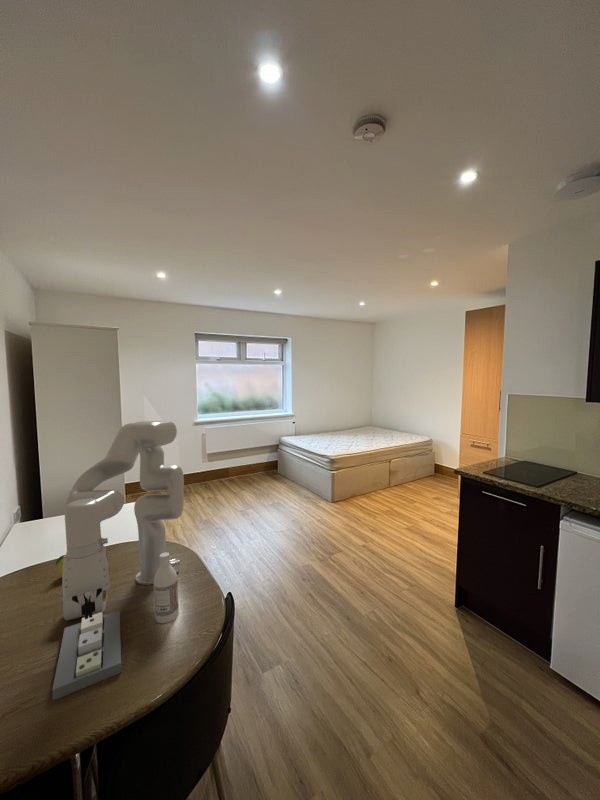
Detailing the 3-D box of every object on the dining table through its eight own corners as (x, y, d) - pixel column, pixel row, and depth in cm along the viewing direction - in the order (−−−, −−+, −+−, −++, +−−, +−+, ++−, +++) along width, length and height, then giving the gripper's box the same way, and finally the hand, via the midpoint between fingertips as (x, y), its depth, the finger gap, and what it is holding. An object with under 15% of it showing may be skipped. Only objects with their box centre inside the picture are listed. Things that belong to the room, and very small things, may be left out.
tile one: (103, 621, 98) (102, 611, 98) (102, 632, 94) (102, 621, 94) (82, 628, 96) (82, 617, 95) (81, 639, 91) (80, 628, 91)
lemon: (55, 583, 121) (54, 557, 121) (58, 575, 126) (57, 550, 126) (77, 577, 124) (76, 552, 124) (79, 570, 130) (77, 546, 129)
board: (119, 617, 102) (119, 610, 102) (121, 672, 82) (121, 662, 82) (65, 636, 95) (64, 627, 94) (52, 700, 75) (52, 690, 75)
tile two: (102, 637, 92) (101, 626, 92) (101, 649, 87) (101, 638, 87) (80, 645, 89) (79, 633, 89) (78, 658, 85) (78, 646, 84)
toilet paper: (64, 628, 98) (62, 596, 98) (73, 607, 107) (72, 578, 107) (102, 618, 102) (100, 587, 101) (108, 599, 111) (106, 571, 111)
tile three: (101, 660, 85) (101, 648, 85) (101, 674, 81) (100, 662, 81) (78, 669, 83) (77, 657, 82) (76, 684, 78) (75, 672, 78)
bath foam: (179, 619, 100) (177, 556, 99) (155, 627, 97) (152, 562, 96) (177, 606, 106) (175, 547, 106) (154, 613, 103) (152, 552, 103)
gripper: (117, 534, 91) (120, 597, 92) (50, 549, 83) (55, 618, 84) (117, 545, 85) (121, 612, 86) (46, 563, 77) (51, 636, 78)
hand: (88, 615), depth 85 cm, fingers closed
